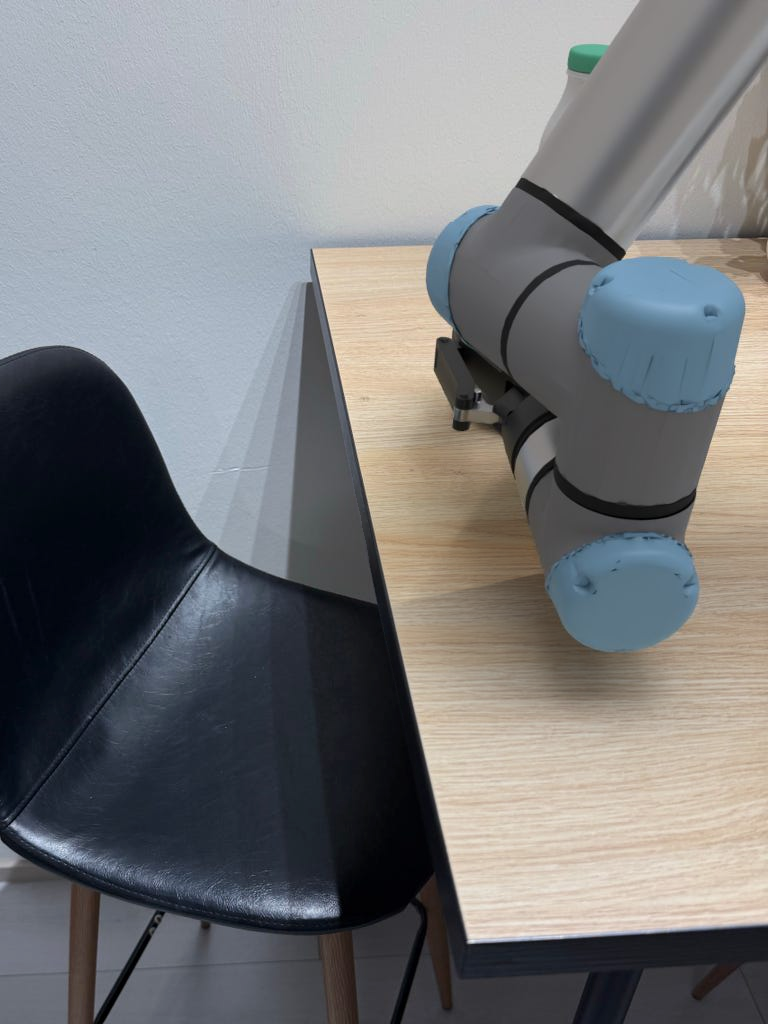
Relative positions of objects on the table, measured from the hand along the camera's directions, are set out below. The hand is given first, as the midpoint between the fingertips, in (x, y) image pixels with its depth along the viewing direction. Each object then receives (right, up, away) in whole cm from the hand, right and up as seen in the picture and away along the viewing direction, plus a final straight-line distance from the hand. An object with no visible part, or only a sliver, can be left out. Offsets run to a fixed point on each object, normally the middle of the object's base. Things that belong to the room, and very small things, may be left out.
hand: (511, 311), depth 84 cm
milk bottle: (+10, +12, +24) cm, 28 cm away
